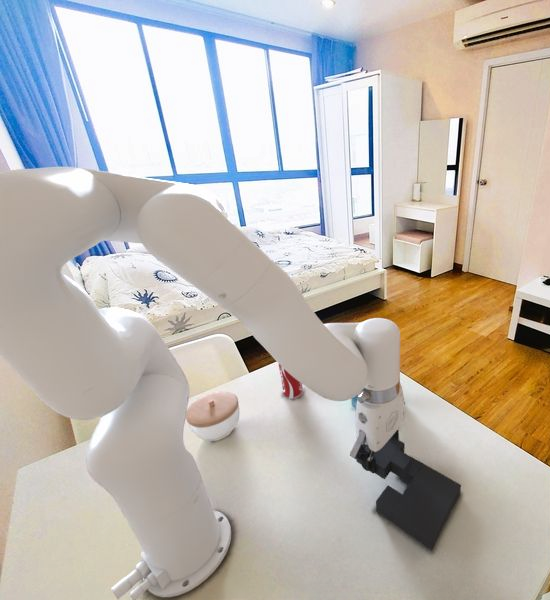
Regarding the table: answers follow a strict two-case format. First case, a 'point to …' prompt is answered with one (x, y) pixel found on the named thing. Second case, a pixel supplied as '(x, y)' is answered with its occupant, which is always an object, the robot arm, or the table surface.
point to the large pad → (420, 503)
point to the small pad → (391, 459)
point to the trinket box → (213, 415)
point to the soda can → (290, 384)
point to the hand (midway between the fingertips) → (380, 454)
